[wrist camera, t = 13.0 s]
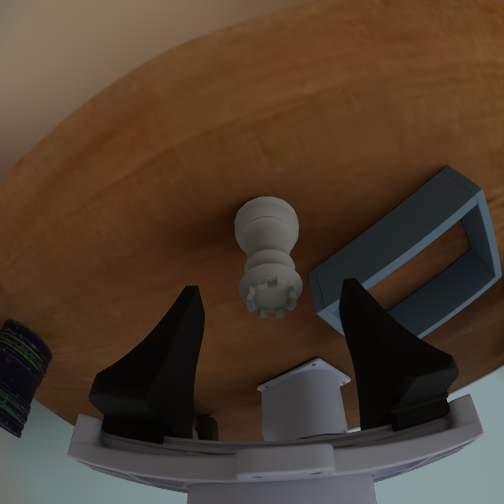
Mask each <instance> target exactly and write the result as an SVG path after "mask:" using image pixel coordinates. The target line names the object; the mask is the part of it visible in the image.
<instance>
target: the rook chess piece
mask: <svg viewBox="0 0 504 504" xmlns="http://www.w3.org/2000/svg"><path fill="white" fill-rule="evenodd" d="M298 230H299V225H298V218H297V216H296V213H295V211H294V209H293V208H292V207H291V206H290V205H289V204H288V203H287V202H286V201H284V200H281V199H278V198H276V197H258V198H255V199H253V200H250V201H248V202H247V203H246V204H245V205H244V206H243V207H242V208H240V209H239V211H238V213H237V216H236V218H235V237H236V240H237V242H238V244H239V246H240V247H241V249H242V250H243V251H244V252H245V254H247V258H248V260H247V262H246V264H245V266H244V275H243V277H242V279H241V281H240V283H239V294H240V296H241V297H242V299H243V300H244V302H245V303H246V307H247V308H248V310H249V311H250V313H251V312H253V311H255V309H256V310H257V311H258V317H259V318H263V319H267V316H268V313H275V317H276V319H278V318H282V317H285V309H287V308H288V310H290V311H293V310H294V309H295V307H296V306H297V303H296V301H297V299H298V298H299V296H300V295H301V293H302V286H303V282H302V280H301V278H300V276H299V274H298V273H297V272H296V271H295V265H294V262H293V260H292V258H291V257H290V251H291V250H292V248H293V247H294V245H295V243H296V241H297V239H298Z"/></svg>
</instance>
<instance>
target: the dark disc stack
mask: <svg viewBox="0 0 504 504" xmlns="http://www.w3.org/2000/svg"><path fill="white" fill-rule="evenodd" d="M51 359H52V354H51V352H50V350H49V348H48V347H47V345H46V344H45V343H44V342H43V341H42V340H41V339H40V338H39V337H38V336H37V335H36V334H35V333H34V332H32V331H31V330H30V329H29V328H27V327H26V326H24V325H22V324H21V323H19V322H17V321H14V320H7V321H6V322H5V323H4V327H3V328H2V329H1V330H0V427H2V428H3V429H5V430H6V431H8V432H9V433H11V434H13V435H15V436H17V437H19V438H20V437H21V434H22V433H21V431H22V430H23V428H24V424H26V421H27V418H28V417H27V416H28V414H29V412H30V408H31V407H30V404H31V402H32V399H33V397H34V394H35V392H36V389H37V387H39V386H40V384H41V381H42V379H43V378H44V376H45V374H46V369H47V368H48V363H49V362H50V361H51Z"/></svg>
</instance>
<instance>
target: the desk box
mask: <svg viewBox="0 0 504 504" xmlns="http://www.w3.org/2000/svg"><path fill="white" fill-rule="evenodd" d="M461 218H462V221H463V224H464V227H465V229H466V232H467V235H468V238H469V241H470V245H471V248H472V249H470V250H469V251H468V252H466V253H465V254H464V255H463V256H462V257H460V258H459V259H458V260H457V261H456V262H454V263H453V264H452V265H451V266H449V267H448V268H447V269H445V270H444V271H443V272H442V273H440V274H439V275H438V276H436V277H435V278H434V279H432V280H431V281H430V282H428V283H427V284H426V285H424V286H423V287H422V288H420V289H419V290H417V291H416V292H415V293H413V294H412V295H410V296H409V297H408V298H406V299H405V300H403V301H402V302H400V303H399V304H397V305H396V306H394V307H393V308H391V309H390V310H388V311H387V313H388V314H390V315H391V316H392V317H393V318H394V319H395V320H396V321H397V322H398V323H400V324H401V325H402V326H403V327H405V328H406V329H407V330H408V331H410V332H411V333H413V334H414V335H415V336H417V337H418V338H420V339H421V338H422V337H424V336H425V335H427V334H428V333H430V332H431V331H433V330H434V329H436V328H437V327H439V326H440V325H441V324H443V323H444V322H446V321H447V320H449V319H450V318H451V317H453V316H454V315H455V314H457V313H458V312H459V311H461V310H462V309H463V308H465V307H466V306H467V305H469V304H470V303H471V302H472V301H474V300H475V299H476V298H477V297H479V296H480V295H481V294H482V293H483V292H485V291H486V290H487V289H488V288H489V287H490V286H492V285H493V284H494V283H495V282H496V281H497V280H498V279H499V278H501V277H502V273H501V266H500V260H499V255H498V249H497V244H496V239H495V235H494V230H493V226H492V222H491V218H490V214H489V210H488V207H487V203H486V200H485V196H484V193H483V190H482V188H481V187H479V186H478V185H476V184H475V183H474V182H472V181H471V180H469V179H468V178H466V177H465V176H463V175H462V174H460V173H459V172H457V171H456V170H454V169H453V168H451V167H450V166H448V165H447V166H446V167H445V168H444V169H442V171H440V172H439V173H438V174H436V175H435V176H434V177H433V178H432V179H430V180H429V181H428V182H427V183H426V184H424V185H423V186H422V187H421V188H419V189H418V190H417V191H416V192H415V193H413V194H412V195H411V196H410V197H408V198H407V199H406V200H405V201H403V202H402V203H401V204H400V205H398V206H397V207H396V208H395V209H393V210H392V211H391V212H389V213H388V214H387V215H386V216H384V217H383V218H382V219H380V220H379V221H378V222H377V223H375V224H374V225H373V226H371V227H370V228H369V229H367V230H366V231H365V232H364V233H362V234H361V235H360V236H358V237H357V238H356V239H354V240H353V241H352V242H350V243H349V244H348V245H346V246H345V247H343V248H342V249H341V250H339V251H338V252H337V253H335V254H334V255H333V256H331V257H330V258H328V259H327V260H326V261H324V262H323V263H322V264H320V265H319V266H317V267H316V268H315V269H314V270H312V271H311V272H309V273H308V278H309V282H310V287H311V291H312V296H313V300H314V305H315V310H316V314H317V315H319V316H320V317H321V318H322V319H324V320H325V321H326V322H327V323H328V324H330V325H331V326H332V327H333V328H335V329H336V330H337V331H338V332H339V333H341V334H342V335H343V336H344V337H345V335H344V332H343V328H342V325H341V320H340V314H339V308H338V307H339V302H340V297H341V292H342V286H343V281H344V279H346V278H356V279H357V280H358V281H359V282H360V284H361V285H362V286H363V287H364V288H365V289H366V290H368V289H369V288H370V287H372V286H373V285H375V284H376V283H378V282H379V281H381V280H382V279H383V278H385V277H386V276H388V275H389V274H390V273H392V272H393V271H395V270H396V269H397V268H399V267H400V266H401V265H403V264H404V263H406V262H407V261H408V260H410V259H411V258H412V257H414V256H415V255H416V254H417V253H419V252H420V251H421V250H423V249H424V248H425V247H427V246H428V245H429V244H430V243H432V242H433V241H434V240H435V239H437V238H438V237H439V236H440V235H442V234H443V233H444V232H445V231H446V230H448V229H449V228H450V227H451V226H452V225H454V224H455V223H456V222H457V221H458V220H460V219H461Z"/></svg>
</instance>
